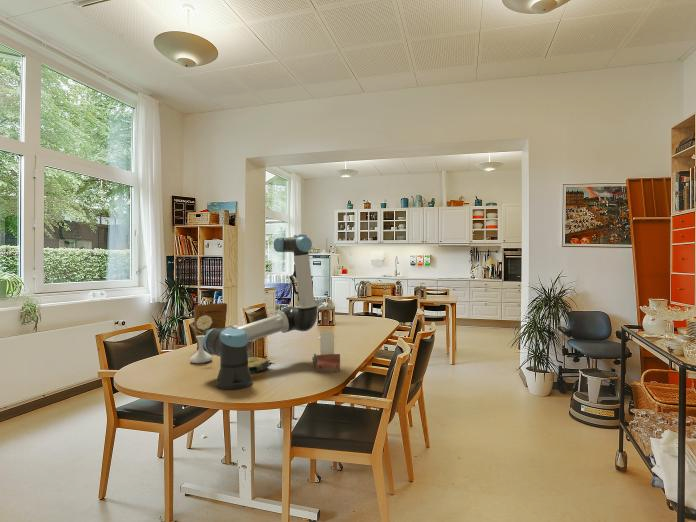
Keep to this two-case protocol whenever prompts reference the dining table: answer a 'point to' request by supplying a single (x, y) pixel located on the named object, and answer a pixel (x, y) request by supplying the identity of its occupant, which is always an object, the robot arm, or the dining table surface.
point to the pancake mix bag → (214, 312)
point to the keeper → (326, 342)
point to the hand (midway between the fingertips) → (301, 306)
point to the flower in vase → (202, 355)
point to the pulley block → (257, 364)
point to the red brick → (327, 362)
